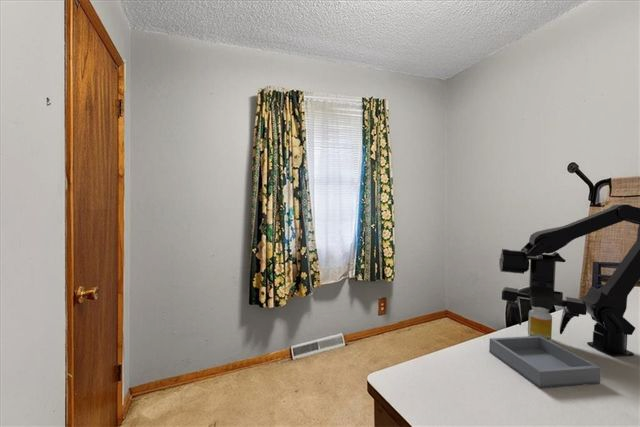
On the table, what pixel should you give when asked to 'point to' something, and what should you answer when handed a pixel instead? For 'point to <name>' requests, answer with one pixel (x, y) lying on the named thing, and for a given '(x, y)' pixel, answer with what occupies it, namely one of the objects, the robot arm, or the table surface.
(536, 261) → the robot arm
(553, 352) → the tray
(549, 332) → the supplement bottle
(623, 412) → the table surface
